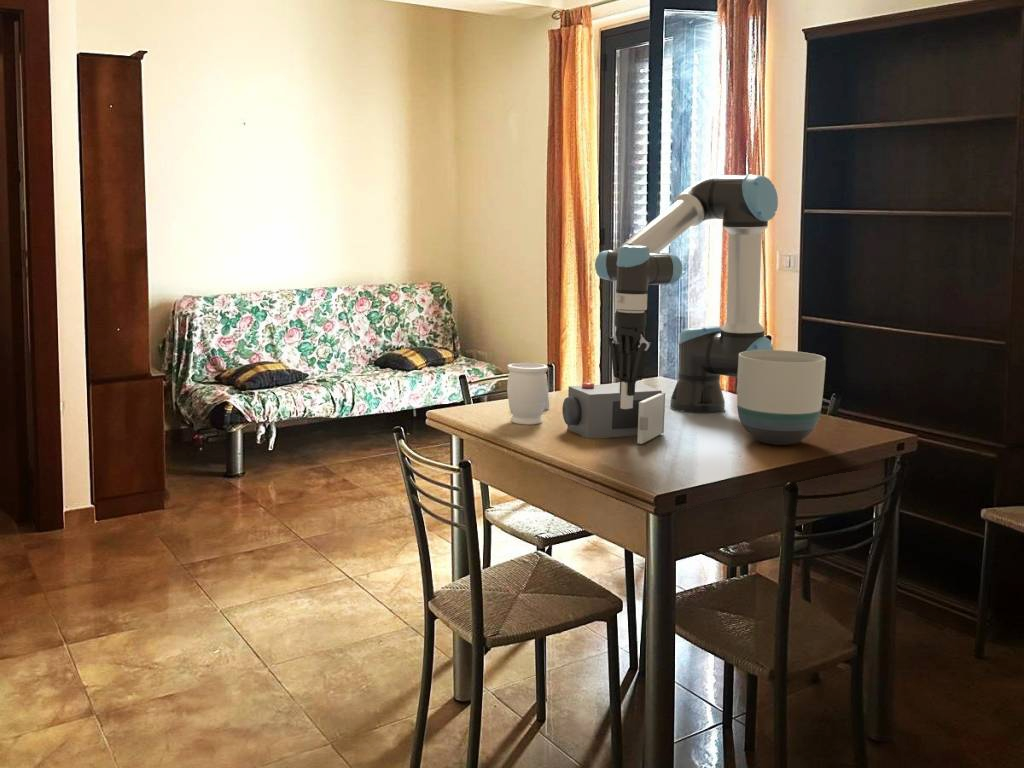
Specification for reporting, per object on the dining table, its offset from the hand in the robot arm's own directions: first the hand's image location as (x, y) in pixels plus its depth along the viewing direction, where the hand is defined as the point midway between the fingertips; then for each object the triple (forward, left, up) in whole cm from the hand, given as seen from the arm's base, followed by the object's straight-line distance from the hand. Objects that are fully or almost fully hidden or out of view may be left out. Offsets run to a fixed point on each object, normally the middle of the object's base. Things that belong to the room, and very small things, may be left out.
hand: (626, 408), depth 260 cm
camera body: (-7, -8, -8) cm, 13 cm away
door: (-5, +5, -8) cm, 10 cm away
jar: (-1, -31, -8) cm, 32 cm away
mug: (-16, -40, -8) cm, 44 cm away
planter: (-23, +29, -8) cm, 38 cm away
